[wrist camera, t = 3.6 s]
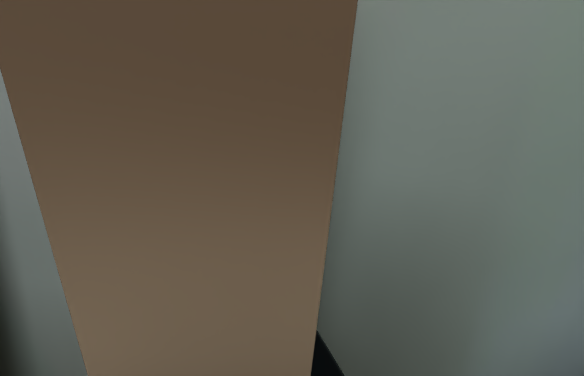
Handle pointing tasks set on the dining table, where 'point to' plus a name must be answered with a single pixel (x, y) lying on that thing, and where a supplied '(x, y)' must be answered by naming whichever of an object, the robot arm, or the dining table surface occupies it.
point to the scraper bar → (184, 172)
